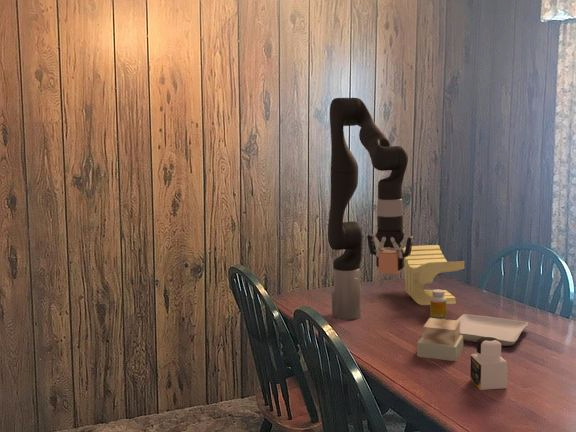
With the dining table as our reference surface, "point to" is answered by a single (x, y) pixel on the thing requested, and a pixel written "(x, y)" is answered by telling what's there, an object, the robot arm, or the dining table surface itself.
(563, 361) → the dining table surface
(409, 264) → the slatted curved stool
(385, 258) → the cube
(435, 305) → the supplement bottle
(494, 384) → the medicine bottle
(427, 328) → the top block
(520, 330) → the salad plate
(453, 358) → the base block
